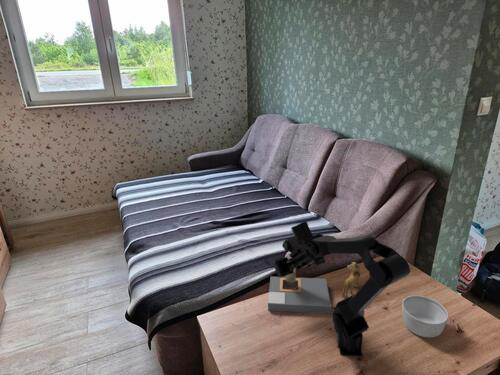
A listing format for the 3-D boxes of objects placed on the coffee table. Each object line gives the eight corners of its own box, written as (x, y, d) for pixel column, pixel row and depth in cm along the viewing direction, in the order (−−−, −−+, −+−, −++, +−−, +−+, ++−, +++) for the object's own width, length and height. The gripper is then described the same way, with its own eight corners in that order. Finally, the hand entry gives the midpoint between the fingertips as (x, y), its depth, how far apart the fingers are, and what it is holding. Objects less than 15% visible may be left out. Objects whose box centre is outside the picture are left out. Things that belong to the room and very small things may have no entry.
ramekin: (448, 346, 93) (453, 328, 91) (401, 335, 98) (403, 318, 95) (440, 316, 105) (443, 299, 102) (397, 307, 109) (400, 291, 107)
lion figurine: (346, 277, 127) (348, 259, 124) (360, 280, 124) (362, 261, 121) (340, 299, 114) (341, 279, 111) (355, 303, 112) (357, 283, 109)
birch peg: (297, 277, 119) (297, 255, 115) (294, 283, 115) (294, 260, 112) (287, 275, 120) (287, 253, 117) (283, 281, 117) (283, 258, 114)
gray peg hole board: (325, 285, 123) (325, 278, 122) (330, 313, 108) (330, 306, 107) (270, 282, 125) (270, 275, 124) (268, 310, 110) (267, 302, 109)
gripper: (318, 227, 112) (299, 241, 124) (275, 240, 103) (259, 254, 116) (332, 255, 108) (311, 267, 120) (288, 272, 99) (271, 283, 112)
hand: (288, 267), depth 117 cm, fingers closed on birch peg, 4 cm apart
